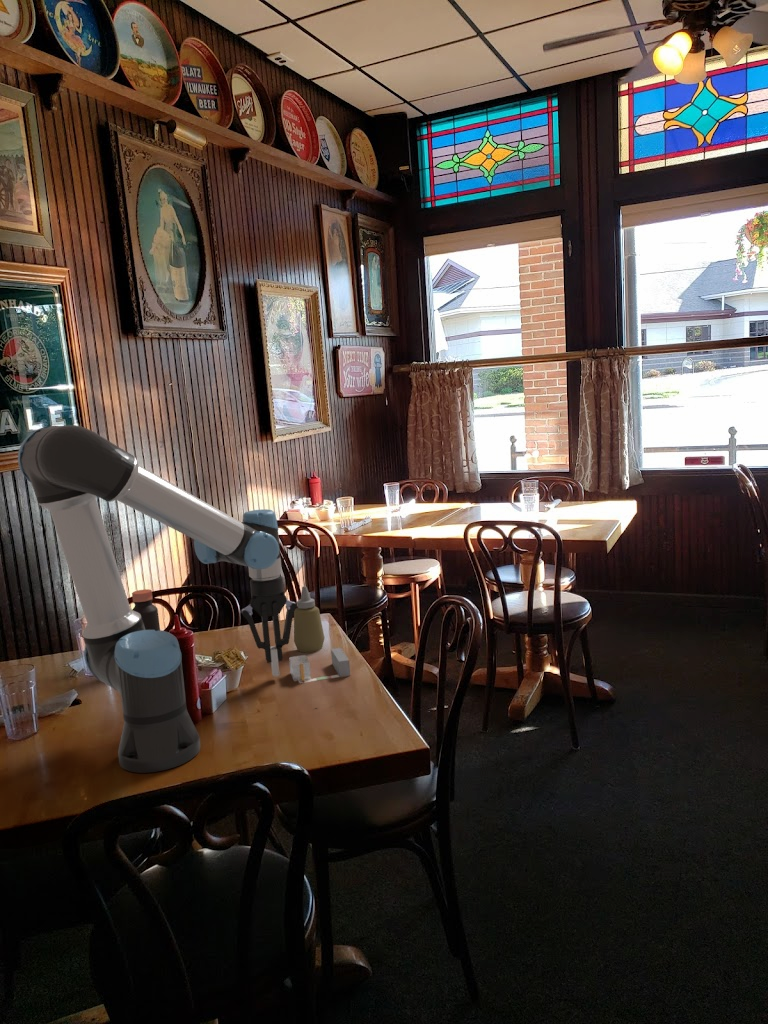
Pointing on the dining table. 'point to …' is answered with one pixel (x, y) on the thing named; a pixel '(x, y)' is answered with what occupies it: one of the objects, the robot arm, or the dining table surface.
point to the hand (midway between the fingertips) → (275, 674)
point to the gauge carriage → (300, 668)
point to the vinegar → (146, 609)
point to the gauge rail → (336, 665)
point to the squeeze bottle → (307, 624)
